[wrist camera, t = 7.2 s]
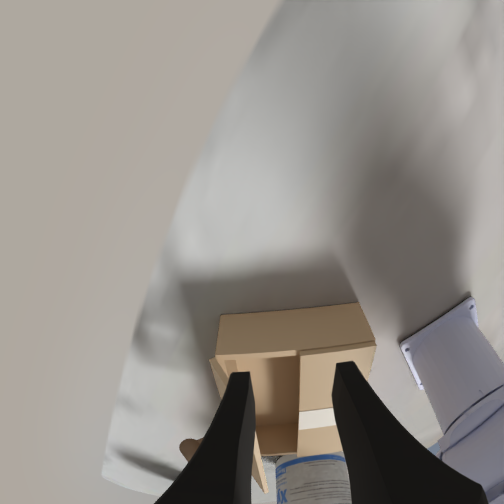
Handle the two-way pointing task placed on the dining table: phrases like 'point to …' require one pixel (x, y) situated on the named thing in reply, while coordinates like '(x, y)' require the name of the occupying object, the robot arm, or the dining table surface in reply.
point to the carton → (295, 370)
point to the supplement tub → (313, 479)
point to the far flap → (191, 445)
